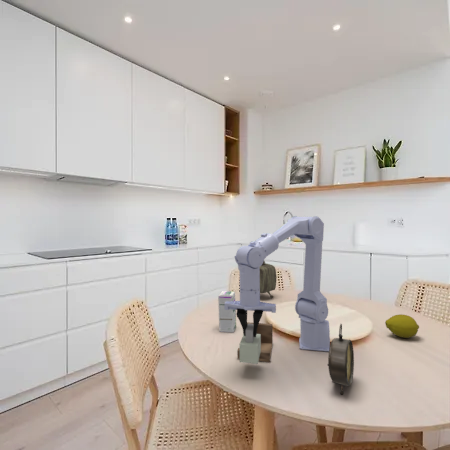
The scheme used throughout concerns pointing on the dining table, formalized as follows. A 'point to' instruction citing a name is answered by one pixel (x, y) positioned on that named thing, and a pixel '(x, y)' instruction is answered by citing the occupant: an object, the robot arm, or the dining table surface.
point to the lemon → (402, 326)
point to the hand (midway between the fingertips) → (250, 335)
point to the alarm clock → (341, 361)
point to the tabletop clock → (267, 278)
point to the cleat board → (263, 341)
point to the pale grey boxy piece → (250, 346)
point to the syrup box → (226, 312)
